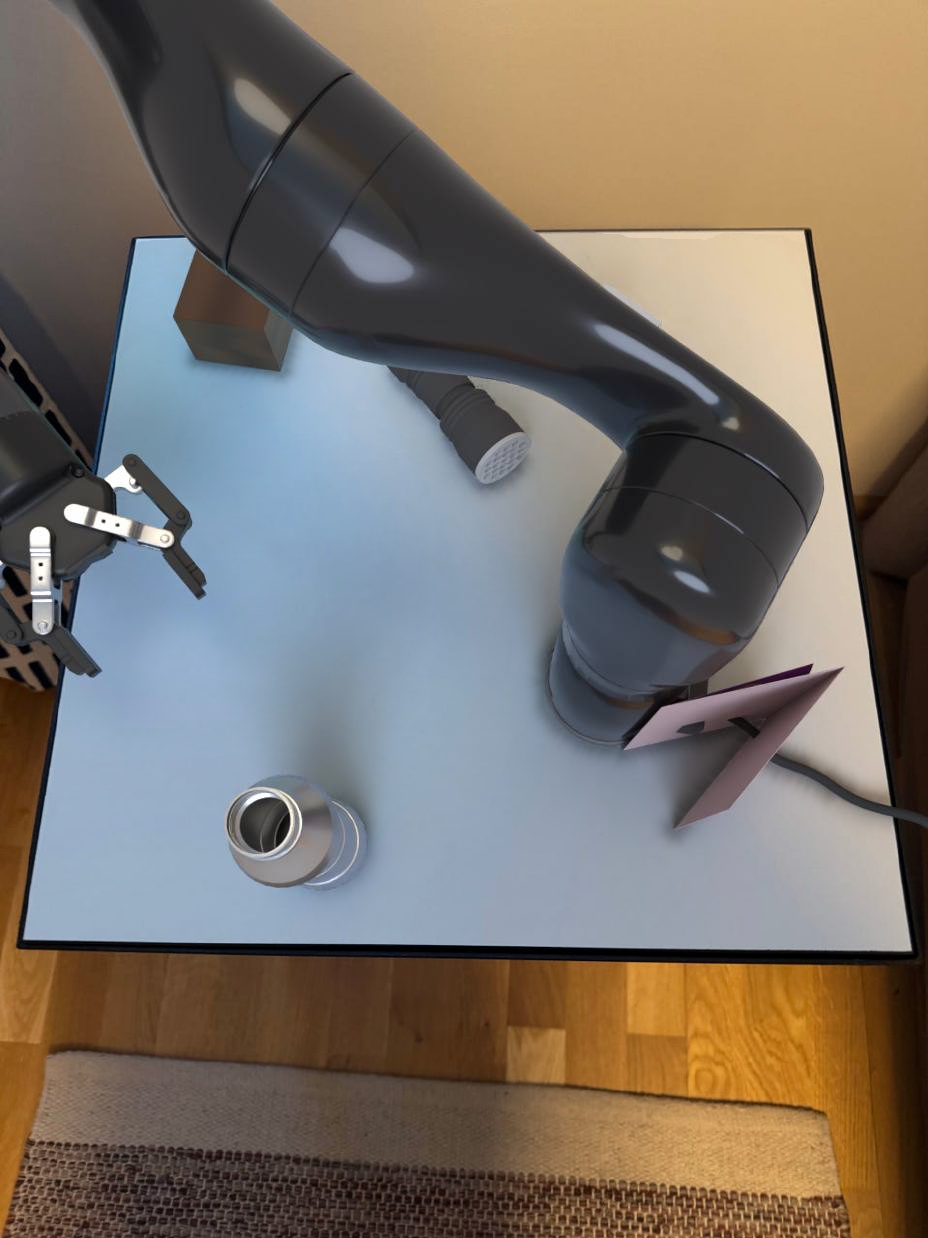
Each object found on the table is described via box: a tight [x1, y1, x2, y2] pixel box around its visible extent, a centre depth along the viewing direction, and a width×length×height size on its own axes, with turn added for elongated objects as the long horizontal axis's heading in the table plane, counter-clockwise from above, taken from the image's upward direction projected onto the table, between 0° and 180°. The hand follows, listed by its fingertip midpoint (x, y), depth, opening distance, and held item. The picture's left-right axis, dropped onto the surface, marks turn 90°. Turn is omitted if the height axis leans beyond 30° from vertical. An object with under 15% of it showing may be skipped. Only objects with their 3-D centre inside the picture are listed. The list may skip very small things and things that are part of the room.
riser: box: [172, 248, 294, 372], centre depth 74 cm, size 8×8×6 cm
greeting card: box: [622, 662, 846, 831], centre depth 56 cm, size 11×7×15 cm, turn 102°
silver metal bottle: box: [223, 774, 368, 891], centre depth 53 cm, size 6×7×20 cm
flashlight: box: [386, 366, 532, 485], centre depth 71 cm, size 15×5×5 cm, turn 36°
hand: (150, 634), depth 57 cm, fingers open, 8 cm apart
